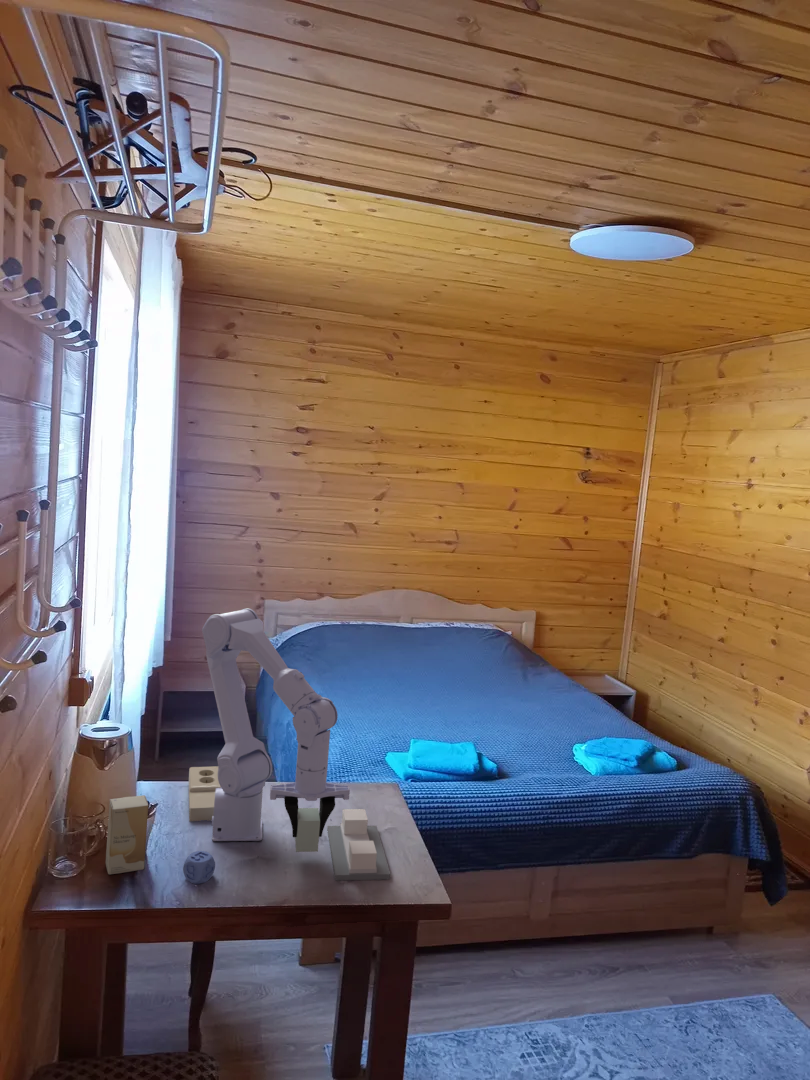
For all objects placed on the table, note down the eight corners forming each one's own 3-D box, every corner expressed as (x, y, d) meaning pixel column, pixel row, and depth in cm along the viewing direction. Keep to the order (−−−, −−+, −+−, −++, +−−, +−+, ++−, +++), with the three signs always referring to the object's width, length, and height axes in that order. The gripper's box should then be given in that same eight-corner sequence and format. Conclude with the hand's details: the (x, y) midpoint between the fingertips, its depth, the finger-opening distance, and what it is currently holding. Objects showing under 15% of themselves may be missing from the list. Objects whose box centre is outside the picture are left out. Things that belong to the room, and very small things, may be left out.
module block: (296, 851, 144) (298, 821, 143) (294, 838, 149) (297, 808, 148) (317, 851, 144) (320, 820, 144) (316, 837, 149) (318, 808, 149)
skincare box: (108, 876, 137) (110, 809, 135) (105, 863, 140) (107, 798, 139) (146, 869, 140) (149, 804, 138) (142, 857, 143) (145, 793, 142)
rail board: (335, 880, 141) (337, 855, 140) (327, 830, 159) (329, 808, 158) (389, 879, 143) (392, 854, 142) (376, 830, 160) (377, 807, 160)
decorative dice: (214, 875, 140) (216, 854, 139) (200, 886, 136) (201, 864, 135) (196, 869, 141) (198, 848, 141) (182, 879, 137) (183, 858, 137)
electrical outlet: (190, 803, 157) (189, 766, 174) (189, 823, 158) (188, 783, 175) (226, 802, 159) (222, 765, 176) (225, 821, 160) (221, 782, 177)
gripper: (272, 774, 139) (267, 845, 141) (353, 774, 142) (347, 844, 144) (272, 757, 146) (267, 826, 148) (349, 758, 149) (344, 825, 151)
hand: (306, 834), depth 146 cm, fingers closed on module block, 4 cm apart
